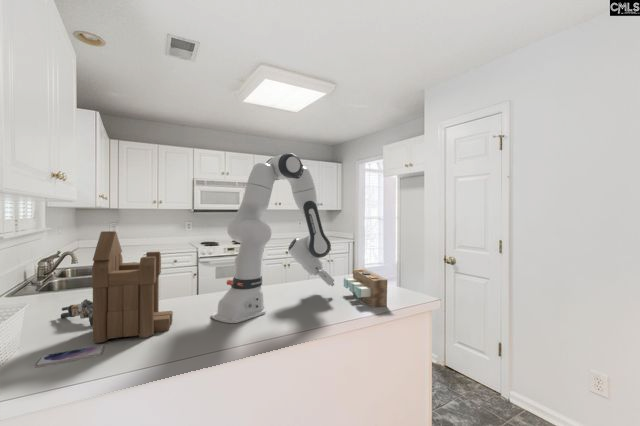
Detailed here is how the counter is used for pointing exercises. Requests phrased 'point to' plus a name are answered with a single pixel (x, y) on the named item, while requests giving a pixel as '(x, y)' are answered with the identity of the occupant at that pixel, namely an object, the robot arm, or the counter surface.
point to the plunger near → (363, 291)
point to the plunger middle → (353, 286)
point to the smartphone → (69, 356)
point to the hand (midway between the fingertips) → (332, 284)
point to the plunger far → (346, 281)
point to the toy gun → (80, 311)
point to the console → (373, 287)
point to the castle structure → (125, 293)
